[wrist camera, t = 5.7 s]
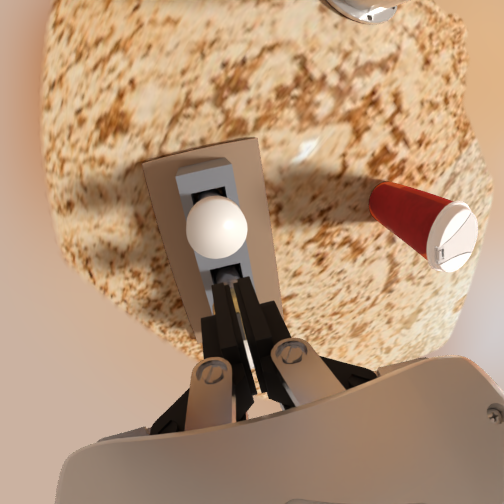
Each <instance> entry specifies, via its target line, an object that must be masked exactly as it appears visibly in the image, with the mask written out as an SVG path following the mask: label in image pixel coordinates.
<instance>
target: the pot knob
mask: <svg viewBox="0 0 504 504" xmlns="http://www.w3.org/2000/svg"><path fill="white" fill-rule="evenodd" d="M215 275H216V281H217V284H218V283H222V282H224V285H228V284H229V286H230V290H231V294H232V298H233V302H234V306H235V310H236V314H237V318H238V322H239V326H240V330H241V334H242V338H243V341H244V340H247V339H246V335H245V331H244V327H243V323H242V319H241V315H240V311H239V307H238V302H237V298H236V294H235V290H234V286H233V283H237V279H239V274H238V271H237V268H236V265H235V264H232V265H228V266H224V267H220V268H215ZM212 309H213V315H215V309H214V303H213V307H212Z"/></svg>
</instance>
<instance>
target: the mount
mask: <svg viewBox="0 0 504 504" xmlns="http://www.w3.org/2000/svg"><path fill="white" fill-rule="evenodd" d="M142 166H143V171H144V175H145V179H146V183H147V187H148V190H149V194H150V198H151V202H152V205H153V209H154V213H155V216H156V220H157V223H158V227H159V230H160V234H161V237H162V240H163V244H164V247H165V250H166V253H167V257H168V260H169V263H170V266H171V269H172V272H173V275H174V278H175V281H176V284H177V287H178V290H179V293H180V296H181V299H182V302H183V304H184V307H185V310H186V313H187V316H188V318H189V321H190V324H191V326H192V329H193V332H194V334H195V337H196V340H197V342H198V343H202V332H201V318H203V317H207V316H212V315H213V309H212V307H213V303H214V302H213V294H212V287H211V285H214V284H217V281H216V275H215V268H220V267H224V266H228V265H232V264H235V265H236V268H237V271H238V274H239V278H243V277H247V276H249V277H250V279H251V282H252V285H253V287H254V290H255V293H256V295H257V298H258V301H259V303H260V304H261V303H265V302H269V301H273V300H274V301H275V303H276V305H277V307H278V309H279V312H280V314H281V316H282V318H283V320H284V317H283V310H282V302H281V294H280V287H279V279H278V272H277V265H276V257H275V250H274V243H273V236H272V229H271V222H270V216H269V209H268V202H267V196H266V189H265V183H264V176H263V170H262V164H261V157H260V151H259V145H258V139H257V138H250V139H245V140H239V141H234V142H228V143H223V144H218V145H213V146H209V147H204V148H199V149H195V150H190V151H186V152H182V153H178V154H174V155H170V156H166V157H162V158H158V159H155V160H151V161H147V162H144V163H142ZM210 189H215V190H217V191H218V192H219V193H220V195H221V196H223V197H226V198H229V199H230V200H232V201H233V202H235V203H236V204H237V205H238V207H239V208H240V210H241V211H242V213H243V215H244V217H245V219H246V222H247V236H246V239H245V241H244V243H243V245H242V246H241V247H240V249H239V250H237V251H236V252H235V253H234V254H232V255H230V256H228V257H225V258H220V259H211V258H207V257H204V256H202V255H200V254H198V253H197V252H196V251H195V250H194V249H193V248H192V247H191V245H190V244H189V242H188V239H187V235H186V225H187V217H188V214H189V212H190V210H191V208H192V207H193V206H194V205H195V204H196V203H197V202H198V196H199V194H200V193H201V192H202V191H205V190H210Z"/></svg>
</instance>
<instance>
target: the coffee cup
mask: <svg viewBox="0 0 504 504" xmlns="http://www.w3.org/2000/svg"><path fill="white" fill-rule="evenodd" d="M369 209H370V213H371V214H372V216H373V217H374V218H375V219H376V220H377V221H378V222H380V223H381V224H382V225H383V226H385V227H386V228H387V229H389V230H390V231H391V232H393V233H394V234H395V235H397V236H398V237H399V238H400V239H402V240H403V241H404V242H405V243H407V244H408V245H409V246H411V247H412V248H413V249H414V250H416V251H417V252H418V253H419V254H421V255H422V256H423V257H424V258H425V259H427V260H428V263H429V264H430V266H431V267H432V268H433V269H434V270H437V271H444V272H453V271H456V270H457V269H459V268H460V267H461V266H463V265H464V263H465V262H466V261H467V260H468V258H469V257H470V255H471V252H472V251H473V249H474V246H475V243H476V240H477V235H478V223H477V219H476V217H475V215H474V214H473V212H472V211H471V210H470V208H469V206H468V205H467V204H466V203H464V202H462V201H451V200H448V199H445V198H442V197H439V196H436V195H433V194H430V193H427V192H424V191H421V190H418V189H414V188H411V187H408V186H404V185H401V184H397V183H393V182H383V183H380V184H379V185H377V186H376V187H375V188H374V190H373V191H372V193H371V196H370V199H369Z"/></svg>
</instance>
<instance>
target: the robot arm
mask: <svg viewBox="0 0 504 504" xmlns="http://www.w3.org/2000/svg"><path fill="white" fill-rule="evenodd" d="M327 1H328V2H329V3H330V4H331V5H332V6H333V7H334V8H335V9H336V10H337V11H339V12H340V13H342V14H343V15H345V16H346V17H348V18H350V19H352V20H355V21H358V22H360V23H365V24H380V23H383V22H386V21H388V20H389V19H391V18H392V17H393V16H394V14H395V12H396V10H397V5H399V4H402V3H404V2H407V1H410V0H327ZM233 286H234V290H235V294H236V298H237V302H238V307H239V311H240V315H241V319H242V323H243V327H244V331H245V335H246V339H247V342H248V346H249V350H250V353H251V357H252V360H253V364H254V368H255V371H256V375H257V378H258V382H259V385H260V389H261V392H262V393H264V392H267V394H268V397H269V399H272V400H274V401H276V402H279V403H280V405H281V408H282V410H283V411H280V412H277V413H273V414H269V415H265V416H261V417H257V418H253V419H248V413H247V410H248V409H249V408H250V407H251V405H252V404H253V403H254V400H253V396H252V395H256V394H257V391H256V387H255V383H254V380H253V376H252V372H251V368H250V365H249V361H248V357H247V353H246V349H245V345H244V341H243V338H242V334H241V330H240V326H239V322H238V318H237V314H236V310H235V306H234V302H233V298H232V294H231V290H230V286H229V284H228V285H224V282H222V283H218V284H214V285H211V287H212V294H213V302H214V309H215V315H212V316H207V317H203V318H201V332H202V344H203V355H204V360H202V361H200V362H199V363H198V364H196V366H195V367H194V368H193V371H192V375H191V382H190V388H189V389H188V390H187V391H186V392H185V393H184V394H183V395H182V396H181V397H180V398H179V399H178V400H177V401H176V402H175V403H174V404H173V405H172V406H171V407H170V408H169V409H168V410H167V411H166V412H165V413H164V414H163V415H161V416H160V417H159V419H157V421H155V423H154V424H153V426H152V427H151V428H148V429H147V428H146V427H141V428H138V429H135V430H131V431H128V432H124V433H120V434H117V435H113V436H109V437H105V438H103V439H100V440H99V441H98V442H97V443H94V444H90V445H88V446H85V447H83V448H80V449H79V450H77V451H75V452H73V453H72V454H71V455H70V456H69V457H68V458H67V459H66V460H65V462H64V464H63V466H62V469H61V472H60V476H59V480H58V485H57V491H56V499H55V504H504V392H503V391H502V389H501V388H500V387H499V386H498V385H497V384H496V383H495V382H494V380H493V379H492V378H491V377H490V376H489V375H488V374H487V373H486V372H485V371H484V370H483V369H482V368H480V367H479V366H478V365H477V364H476V363H474V362H473V361H471V360H469V359H468V358H466V357H462V356H459V355H445V356H438V357H433V358H426V357H425V358H418V359H414V360H410V361H406V362H402V363H397V364H393V365H388V366H384V367H379V368H378V370H377V371H371V370H369V369H366V368H363V367H359V366H355V365H351V364H347V363H343V362H340V361H336V360H332V359H329V358H325V357H321V356H319V355H318V354H317V353H316V352H315V350H314V349H313V348H312V346H311V345H310V344H309V343H308V342H307V341H305V340H303V339H300V338H291V336H290V333H289V331H288V329H287V327H286V325H285V323H284V320H283V318H282V316H281V314H280V312H279V309H278V307H277V305H276V303H275V301H274V300H273V301H269V302H265V303H261V304H260V303H259V301H258V298H257V295H256V293H255V290H254V287H253V285H252V282H251V279H250V277H249V276H247V277H243V278H239V279H237V283H233Z"/></svg>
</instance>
